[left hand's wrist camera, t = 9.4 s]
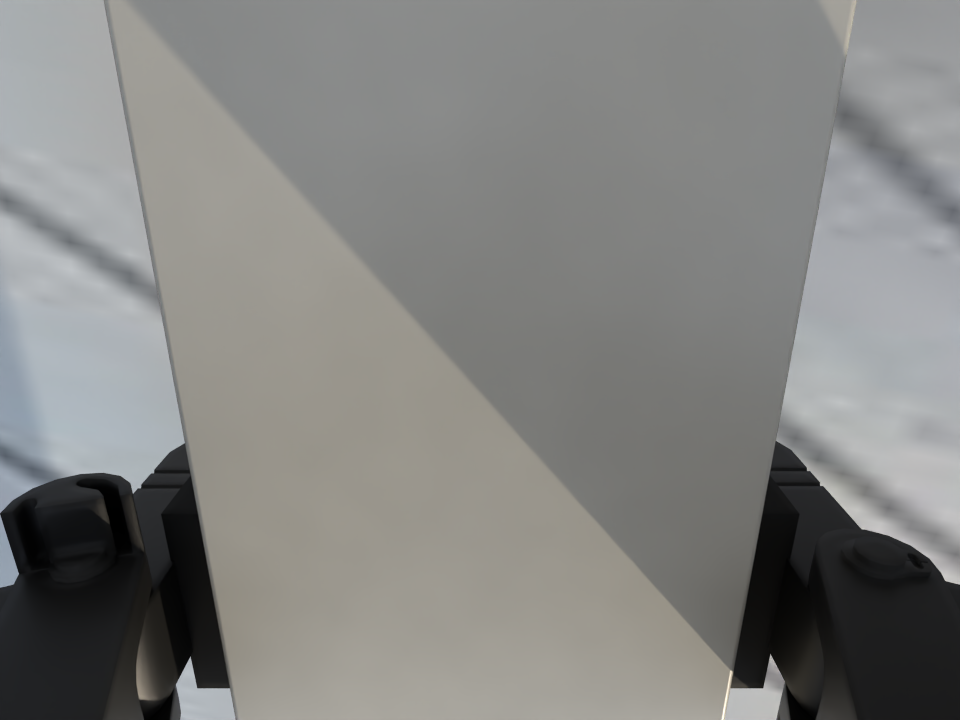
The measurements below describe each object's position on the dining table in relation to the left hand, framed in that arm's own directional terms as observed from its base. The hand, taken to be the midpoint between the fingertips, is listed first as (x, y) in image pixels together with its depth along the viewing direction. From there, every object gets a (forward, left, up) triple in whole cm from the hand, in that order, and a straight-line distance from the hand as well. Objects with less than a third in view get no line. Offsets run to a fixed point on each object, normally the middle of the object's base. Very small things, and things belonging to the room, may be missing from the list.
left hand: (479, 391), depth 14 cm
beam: (+14, +16, -1) cm, 21 cm away
